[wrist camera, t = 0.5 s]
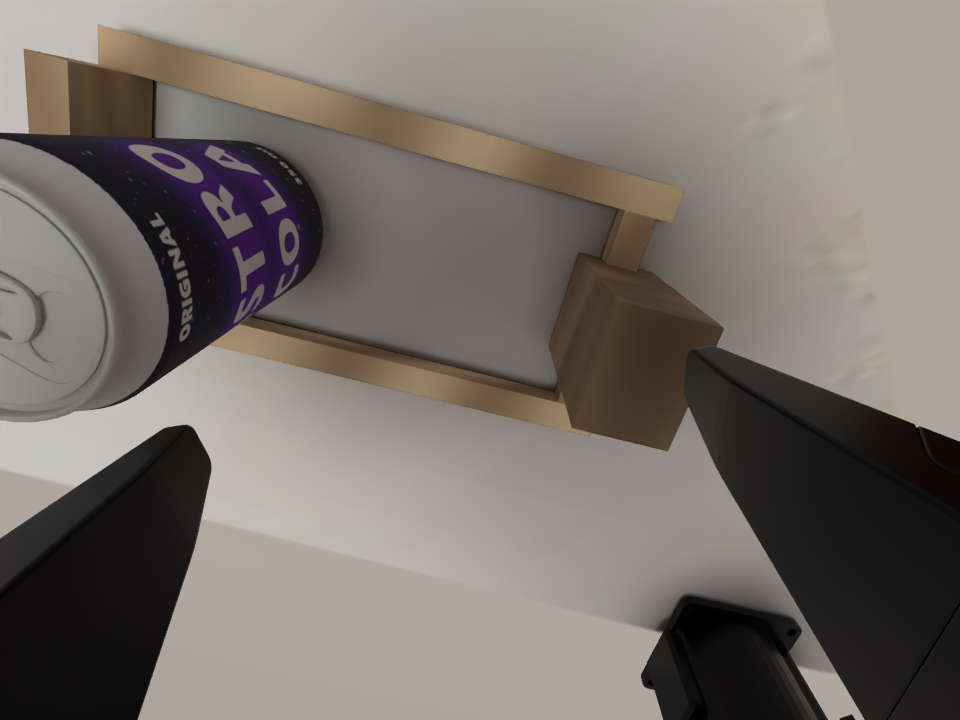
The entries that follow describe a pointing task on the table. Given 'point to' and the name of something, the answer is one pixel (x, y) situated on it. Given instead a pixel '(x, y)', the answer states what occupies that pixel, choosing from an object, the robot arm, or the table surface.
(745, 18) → the table surface
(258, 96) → the wooden frame
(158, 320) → the beverage can
